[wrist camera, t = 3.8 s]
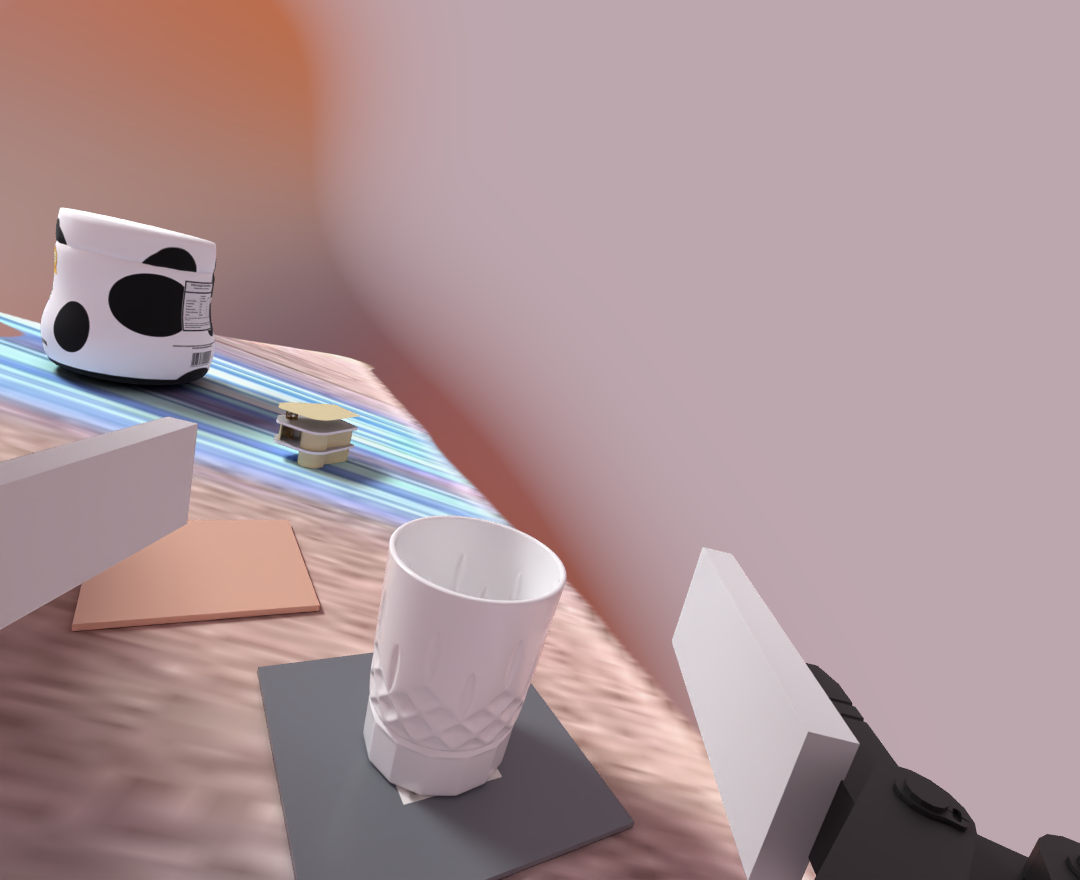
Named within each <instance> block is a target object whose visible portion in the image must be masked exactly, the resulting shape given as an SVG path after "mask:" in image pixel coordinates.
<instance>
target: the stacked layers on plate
mask: <svg viewBox="0 0 1080 880" xmlns="http://www.w3.org/2000/svg"><path fill="white" fill-rule="evenodd" d="M279 408H281V409H284V410H287V411H288V412H292V414H291V413H289V414H288V412H287V411H286V415H278V417H277V421H276V422H277V423H279V424H280V430H279V434H275V437H274V442H275V443H277V444H280V445H283V446H286V447H289V448H292V449H295V450H298V451H299V454H298V460H297V463H298V464H299V465H300V466H303V467H307V468H321V467H323V466H324V464H331V463H338V462H344V461H347V458H348V453H349V449H351V448H354V445H353V444H351V443H350V441H351V436H352V431H354V430H357V427H356V426H354V425H352V424H350V423H347V422H345V421H343V420H341V419H343V418H350V417H356V416H359V415H357V414H355V413H352V412H350V411H348V410H346V409H343V408H341V407H339V406H337V405H329V404H311V403H292V402H291V403H280V404H279ZM295 413H296V414H295ZM298 414H299V415H298Z"/></svg>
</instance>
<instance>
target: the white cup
mask: <svg viewBox="0 0 1080 880" xmlns="http://www.w3.org/2000/svg"><path fill="white" fill-rule="evenodd" d="M565 582H566V570H565V568H564V565H563V564H562V562H561V560H560V559H559V558H558V557H557V555H556V554H555V553H554V552H553V551H551V550H550V549H549V548H548V547H547V546H545V545H544V544H542V543H541V542H540V541H538V540H536V539H535V538H533V537H531V536H529V535H527V534H525V533H523V532H521V531H518V530H516V529H513V528H511V527H508V526H505V525H502V524H499V523H495V522H491V521H487V520H482V519H477V518H471V517H463V516H431V517H424V518H419V519H416V520H413V521H410V522H407V523H405V524H403V525H402V526H400V527H399V528H397V529H396V530H395V531H394V533H393V534H392V536H391V538H390V542H389V548H388V555H387V562H386V569H385V575H384V582H383V588H382V595H381V601H380V607H379V614H378V620H377V627H376V633H375V640H374V654H373V659H372V664H371V671H370V694H369V700H368V705H367V712H366V718H365V724H364V730H363V735H364V740H365V744H366V749H367V753H368V758H369V760H370V761H371V763H372V764H373V765H374V766H375V767H376V768H377V769H378V770H379V771H380V772H381V773H382V774H383V775H384V777H385V778H386V779H387V780H388V781H389V782H391V783H393V784H395V785H397V786H400V787H402V788H405V789H407V790H409V791H412V792H414V793H417V794H419V795H426V796H457V795H459V794H461V793H464V792H466V791H468V790H471V789H473V788H476V787H478V786H480V785H483V784H485V783H486V781H487V780H488V779H489V778H490V776H491V775H492V774H493V772H494V771H495V770H496V769H497V767H498V766H499V765H500V764H501V762H502V760H503V757H504V754H505V751H506V748H507V744H508V741H509V738H510V735H511V732H512V729H513V726H514V723H515V722H516V720H517V718H518V715H519V713H520V711H521V709H522V706H523V704H524V701H525V698H526V694H527V691H528V688H529V686H530V684H531V681H532V679H533V676H534V674H535V671H536V668H537V665H538V662H539V659H540V656H541V653H542V650H543V647H544V644H545V641H546V638H547V635H548V632H549V629H550V626H551V623H552V620H553V617H554V614H555V611H556V608H557V605H558V603H559V600H560V597H561V594H562V591H563V588H564V585H565Z"/></svg>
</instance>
